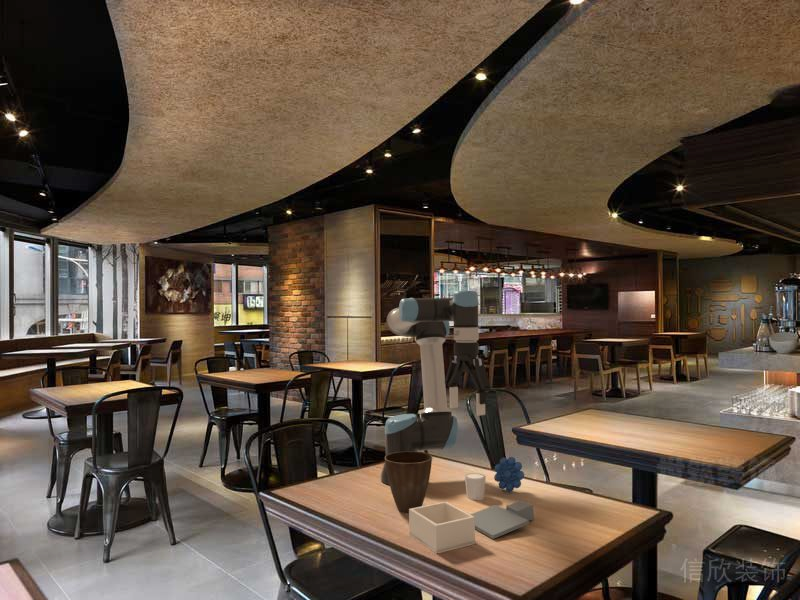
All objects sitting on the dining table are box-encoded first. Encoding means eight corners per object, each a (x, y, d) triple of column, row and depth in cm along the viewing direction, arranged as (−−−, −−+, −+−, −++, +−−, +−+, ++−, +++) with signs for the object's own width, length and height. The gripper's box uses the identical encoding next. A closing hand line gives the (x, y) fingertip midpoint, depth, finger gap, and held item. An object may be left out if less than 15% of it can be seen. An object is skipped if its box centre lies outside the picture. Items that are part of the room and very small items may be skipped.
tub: (409, 534, 151) (409, 508, 151) (446, 526, 156) (445, 501, 157) (436, 553, 138) (435, 525, 139) (475, 543, 144) (474, 516, 144)
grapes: (531, 492, 185) (530, 456, 185) (520, 497, 180) (519, 460, 180) (501, 485, 193) (500, 450, 193) (490, 489, 188) (490, 454, 188)
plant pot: (378, 504, 175) (377, 453, 176) (421, 497, 181) (420, 449, 181) (395, 520, 162) (394, 465, 162) (441, 512, 167) (440, 459, 168)
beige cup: (473, 492, 186) (473, 471, 186) (490, 497, 181) (489, 475, 181) (460, 497, 181) (460, 476, 181) (477, 502, 176) (477, 480, 176)
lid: (462, 528, 159) (460, 514, 159) (512, 508, 168) (510, 495, 168) (494, 546, 146) (492, 531, 146) (546, 523, 155) (544, 509, 155)
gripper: (433, 339, 176) (434, 406, 175) (481, 344, 154) (482, 419, 154) (452, 339, 179) (453, 403, 179) (502, 343, 158) (503, 416, 157)
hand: (466, 411), depth 166 cm, fingers open, 13 cm apart
